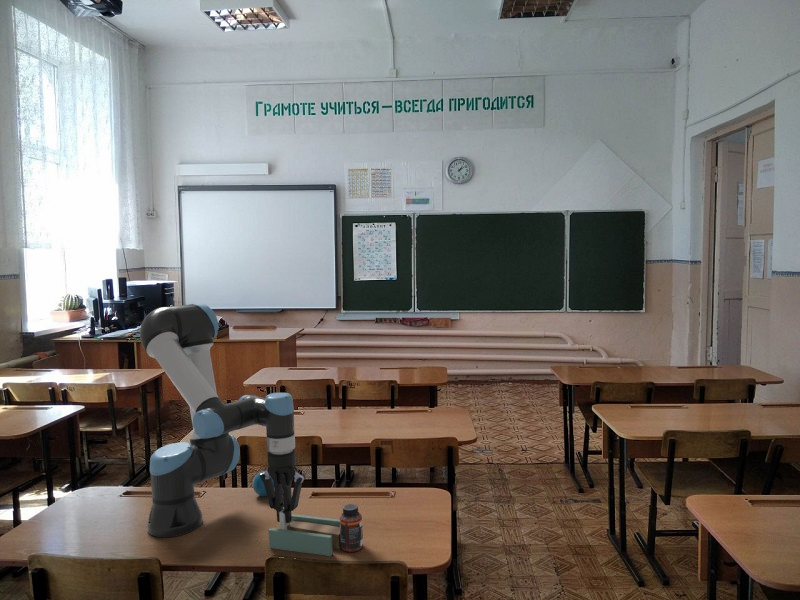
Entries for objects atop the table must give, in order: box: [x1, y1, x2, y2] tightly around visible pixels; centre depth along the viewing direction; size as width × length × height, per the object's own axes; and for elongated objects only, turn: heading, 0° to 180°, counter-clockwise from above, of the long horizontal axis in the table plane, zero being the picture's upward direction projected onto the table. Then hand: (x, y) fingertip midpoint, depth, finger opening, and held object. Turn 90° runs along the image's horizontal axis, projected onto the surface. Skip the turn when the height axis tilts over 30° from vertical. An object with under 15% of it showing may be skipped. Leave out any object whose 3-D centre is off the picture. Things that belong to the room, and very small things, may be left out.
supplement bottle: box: [339, 503, 364, 553], centre depth 160 cm, size 6×6×11 cm
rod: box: [287, 520, 342, 550], centre depth 164 cm, size 16×4×4 cm, turn 68°
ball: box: [252, 470, 275, 497], centre depth 196 cm, size 8×8×8 cm
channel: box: [268, 513, 340, 557], centre depth 163 cm, size 18×10×5 cm, turn 73°
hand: (284, 533), depth 165 cm, fingers closed
